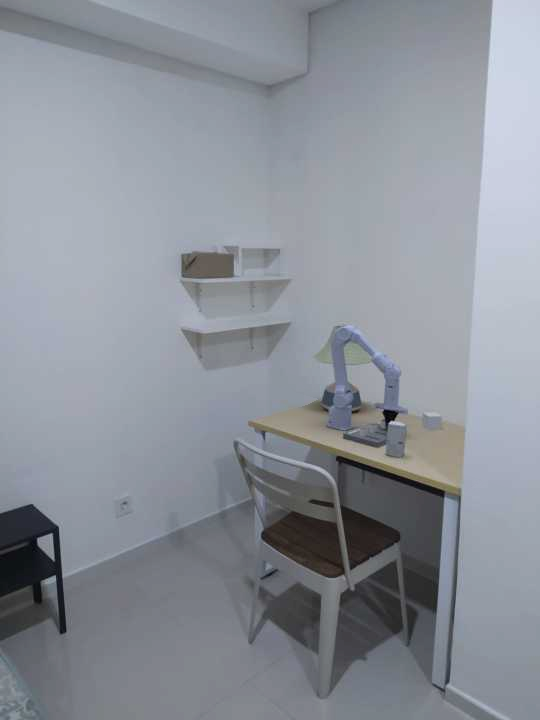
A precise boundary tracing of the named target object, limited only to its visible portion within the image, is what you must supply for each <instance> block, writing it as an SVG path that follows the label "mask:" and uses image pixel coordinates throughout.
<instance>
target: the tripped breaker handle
mask: <svg viewBox="0 0 540 720" xmlns="http://www.w3.org/2000/svg"><path fill="white" fill-rule="evenodd" d="M380 424H381V427H380V428H383V429H386V428H387V424H386V420H385V418H383V419H381V420H380Z"/></svg>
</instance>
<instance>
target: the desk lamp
mask: <svg viewBox="0 0 540 720" xmlns="http://www.w3.org/2000/svg"><path fill="white" fill-rule="evenodd" d="M346 325H348V324H347V323H345V322H344V323H342V325H334V326H333V328H332V331H331V333H330V335H329V338H328V339H327V342H326V343H325V344H324V346H323V347H322V349H321V350H319V352H318V353H316V354H315V355H314V357H313V358H314V359H315V360H316V361H318V362H320V363H323V364H330V365H333V360H332V352H331V342H332V340H333V338H334V335H335V332H336V331H337V330H338V329H339V328H340V327H342V326H346ZM344 356H345V364H346V366H358V365H365V364H370V363H373V362H372V357H371V356H370V355H369V354H368V353H367V352H366V351H365V350H364V349H363V348H362V347H361V346H360V345H359V344H357V343H351V342H350V341H349V342H348V343H347V344H346V345H345V346H344ZM348 385H349V386H350V389H351V392H352V393H353V396H354V399H353V402H352V403H351V406H352V413H353V412H355V411H357V410H358V409H359V410H360V409H361V407H362V400H361V393H360V390H359V388H358V387H356V386H355V385H354V384H352V383H350V382H349V381H348ZM335 387H336V383H335V381H334V382H332V383H330V384H329V385H326V387H325V388H324V391H323V394H322V395H323V396H322V399H321V406H322V407H323V408H324V409H326V410H328V411H329V409H330V407H331V406H333V405H334V403H333V399H334V391H335Z"/></svg>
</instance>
